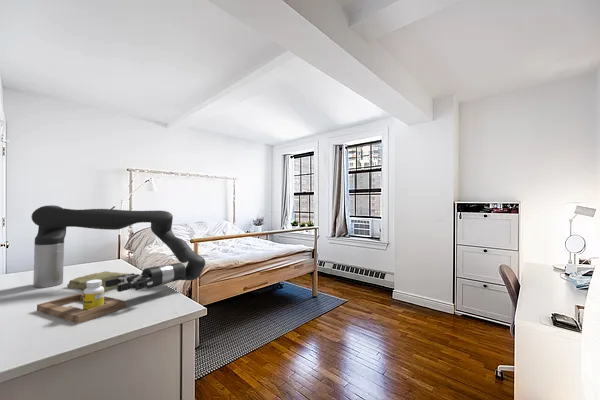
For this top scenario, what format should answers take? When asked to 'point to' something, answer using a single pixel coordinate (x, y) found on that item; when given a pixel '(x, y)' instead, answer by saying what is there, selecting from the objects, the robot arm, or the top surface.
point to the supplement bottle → (93, 294)
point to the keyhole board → (77, 313)
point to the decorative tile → (103, 276)
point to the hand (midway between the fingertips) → (111, 286)
